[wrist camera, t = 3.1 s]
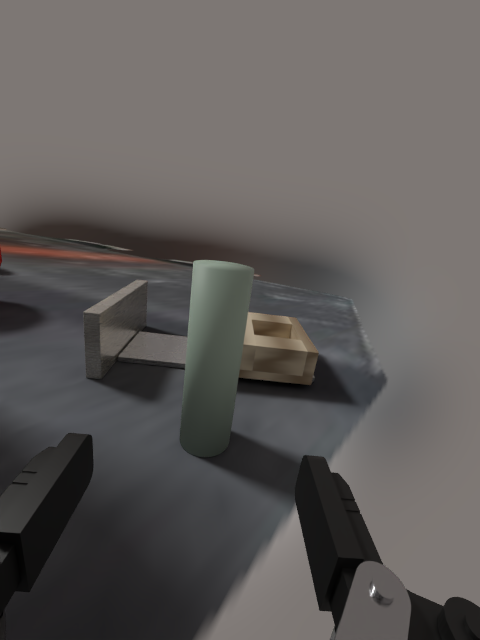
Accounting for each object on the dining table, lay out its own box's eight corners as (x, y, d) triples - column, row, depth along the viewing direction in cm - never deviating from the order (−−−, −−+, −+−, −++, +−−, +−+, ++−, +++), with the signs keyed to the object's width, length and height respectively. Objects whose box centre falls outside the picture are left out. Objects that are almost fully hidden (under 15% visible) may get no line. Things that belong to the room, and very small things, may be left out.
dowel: (175, 454, 21) (189, 266, 17) (184, 419, 25) (197, 257, 21) (228, 459, 22) (256, 274, 17) (229, 424, 25) (252, 265, 21)
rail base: (86, 377, 29) (83, 312, 27) (136, 324, 44) (137, 279, 42) (323, 401, 31) (339, 341, 29) (293, 342, 46) (302, 300, 44)
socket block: (185, 371, 32) (188, 338, 30) (198, 332, 43) (200, 306, 42) (310, 385, 32) (318, 352, 31) (290, 342, 44) (295, 317, 43)
